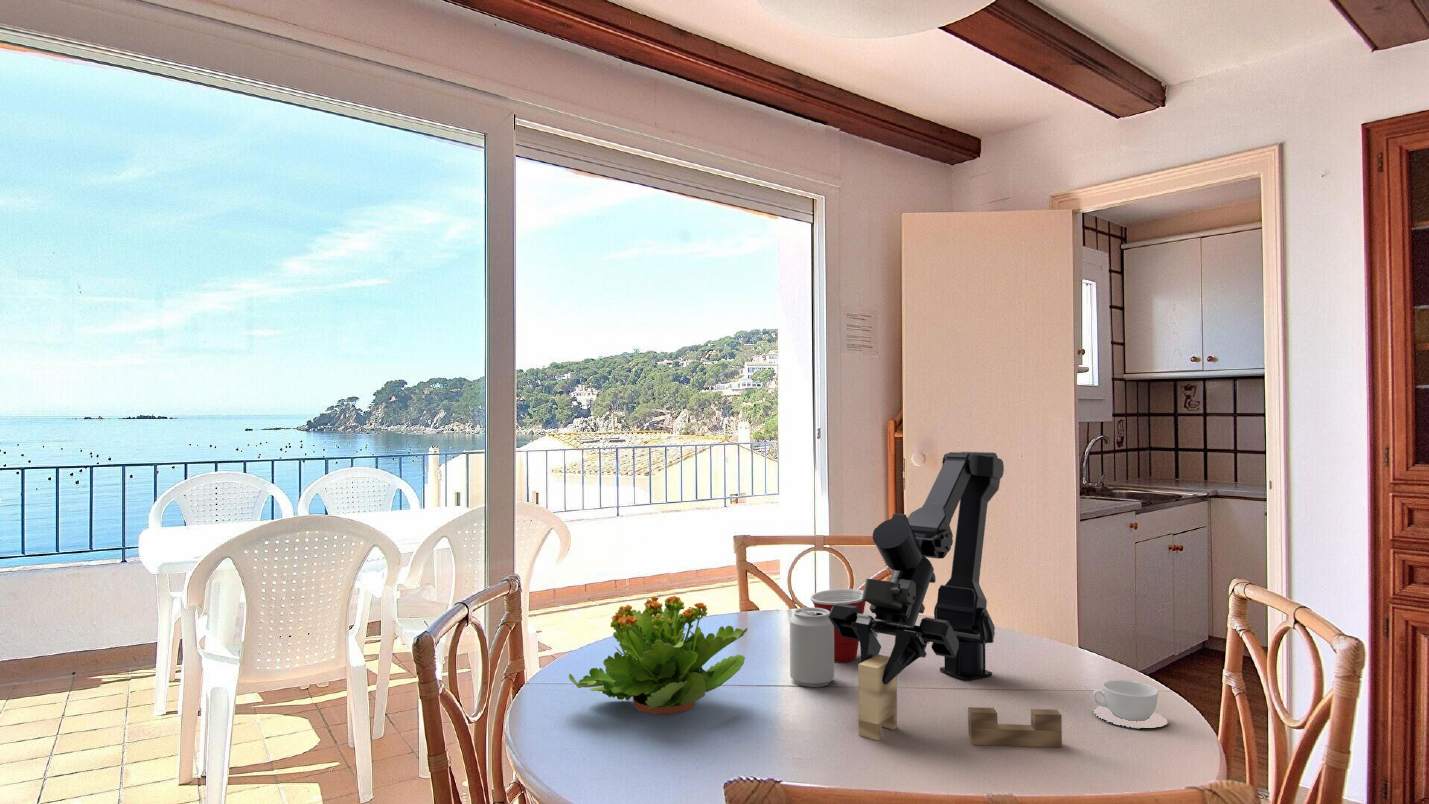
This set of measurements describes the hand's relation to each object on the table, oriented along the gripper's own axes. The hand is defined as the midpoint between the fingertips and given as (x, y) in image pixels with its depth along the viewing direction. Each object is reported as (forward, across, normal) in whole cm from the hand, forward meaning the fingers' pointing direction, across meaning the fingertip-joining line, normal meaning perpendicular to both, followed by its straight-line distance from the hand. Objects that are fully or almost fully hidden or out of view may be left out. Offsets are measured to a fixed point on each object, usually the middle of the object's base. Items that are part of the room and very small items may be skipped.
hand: (873, 680), depth 117 cm
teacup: (-15, +27, +26) cm, 41 cm away
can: (-5, -19, +16) cm, 25 cm away
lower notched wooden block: (-1, +17, +12) cm, 20 cm away
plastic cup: (-15, -22, +26) cm, 38 cm away
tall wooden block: (+4, 0, +6) cm, 8 cm away
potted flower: (+12, -31, 0) cm, 33 cm away
